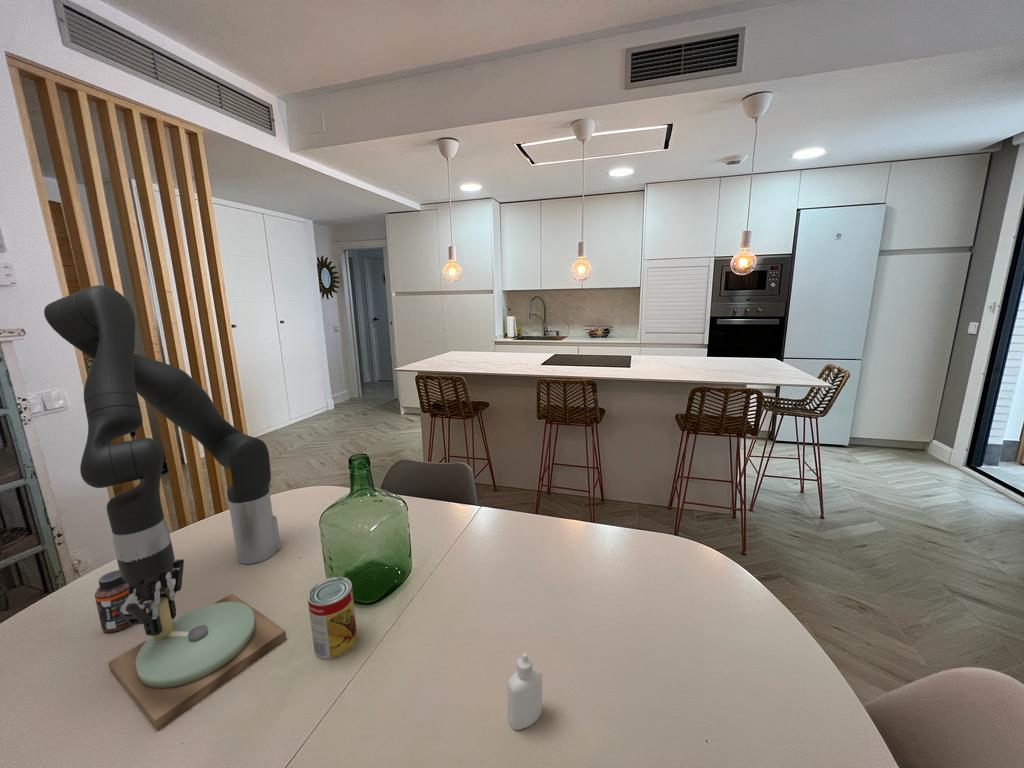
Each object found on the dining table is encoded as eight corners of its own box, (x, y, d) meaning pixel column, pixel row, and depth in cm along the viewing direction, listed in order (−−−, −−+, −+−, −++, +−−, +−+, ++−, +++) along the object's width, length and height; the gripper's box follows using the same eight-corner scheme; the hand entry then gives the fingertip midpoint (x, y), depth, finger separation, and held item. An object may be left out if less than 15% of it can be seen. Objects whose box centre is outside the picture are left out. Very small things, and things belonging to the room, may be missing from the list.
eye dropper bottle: (507, 704, 69) (506, 643, 67) (540, 703, 69) (541, 642, 67) (508, 731, 65) (507, 667, 62) (543, 730, 65) (544, 666, 63)
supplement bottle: (117, 636, 84) (105, 587, 82) (94, 631, 85) (82, 583, 83) (148, 614, 90) (138, 568, 88) (126, 610, 91) (115, 565, 89)
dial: (274, 611, 87) (269, 574, 86) (208, 690, 70) (199, 645, 68) (194, 608, 88) (186, 571, 87) (108, 685, 71) (97, 640, 69)
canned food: (365, 633, 84) (360, 581, 82) (337, 664, 77) (331, 609, 75) (334, 623, 87) (328, 573, 84) (304, 653, 80) (297, 599, 77)
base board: (233, 600, 94) (231, 592, 93) (286, 638, 83) (285, 629, 83) (110, 671, 76) (107, 660, 76) (157, 730, 65) (154, 719, 65)
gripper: (151, 525, 82) (168, 600, 85) (86, 573, 68) (109, 659, 72) (191, 523, 82) (206, 598, 86) (134, 570, 68) (155, 656, 72)
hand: (162, 625), depth 79 cm, fingers closed on dial, 3 cm apart
